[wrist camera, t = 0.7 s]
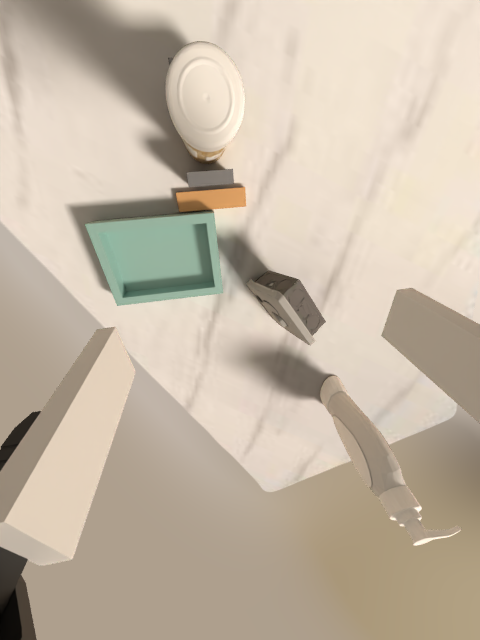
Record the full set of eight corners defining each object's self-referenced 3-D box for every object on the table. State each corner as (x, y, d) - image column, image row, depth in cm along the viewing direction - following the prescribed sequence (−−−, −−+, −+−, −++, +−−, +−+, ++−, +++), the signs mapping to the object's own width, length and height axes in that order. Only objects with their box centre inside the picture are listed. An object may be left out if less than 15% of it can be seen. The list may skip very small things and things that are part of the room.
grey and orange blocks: (155, 82, 22) (144, 58, 17) (239, 79, 22) (247, 55, 18) (179, 211, 27) (175, 216, 23) (245, 205, 28) (252, 209, 24)
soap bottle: (351, 404, 53) (448, 547, 32) (319, 412, 52) (395, 561, 32) (355, 363, 46) (481, 513, 25) (318, 373, 46) (413, 531, 25)
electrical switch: (244, 281, 33) (263, 307, 25) (272, 258, 33) (301, 277, 25) (276, 322, 38) (301, 355, 30) (301, 303, 37) (334, 331, 29)
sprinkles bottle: (225, 165, 26) (244, 151, 14) (184, 162, 25) (169, 146, 14) (226, 111, 23) (248, 43, 12) (180, 107, 23) (158, 30, 11)
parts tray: (94, 220, 27) (84, 224, 24) (213, 210, 28) (213, 212, 26) (122, 297, 32) (117, 305, 30) (221, 286, 33) (223, 293, 31)
